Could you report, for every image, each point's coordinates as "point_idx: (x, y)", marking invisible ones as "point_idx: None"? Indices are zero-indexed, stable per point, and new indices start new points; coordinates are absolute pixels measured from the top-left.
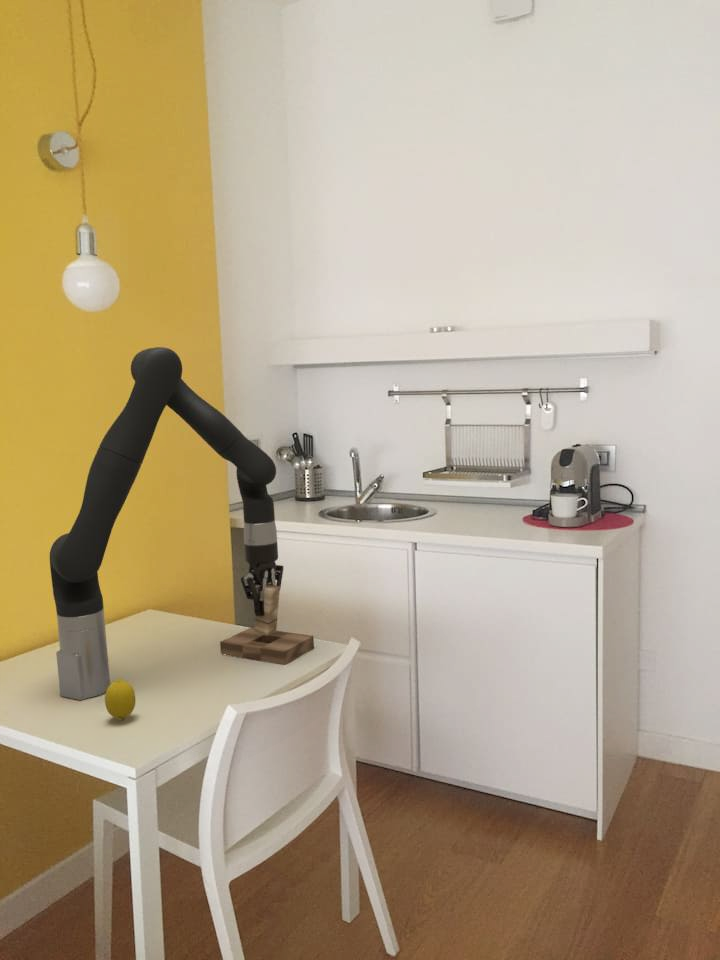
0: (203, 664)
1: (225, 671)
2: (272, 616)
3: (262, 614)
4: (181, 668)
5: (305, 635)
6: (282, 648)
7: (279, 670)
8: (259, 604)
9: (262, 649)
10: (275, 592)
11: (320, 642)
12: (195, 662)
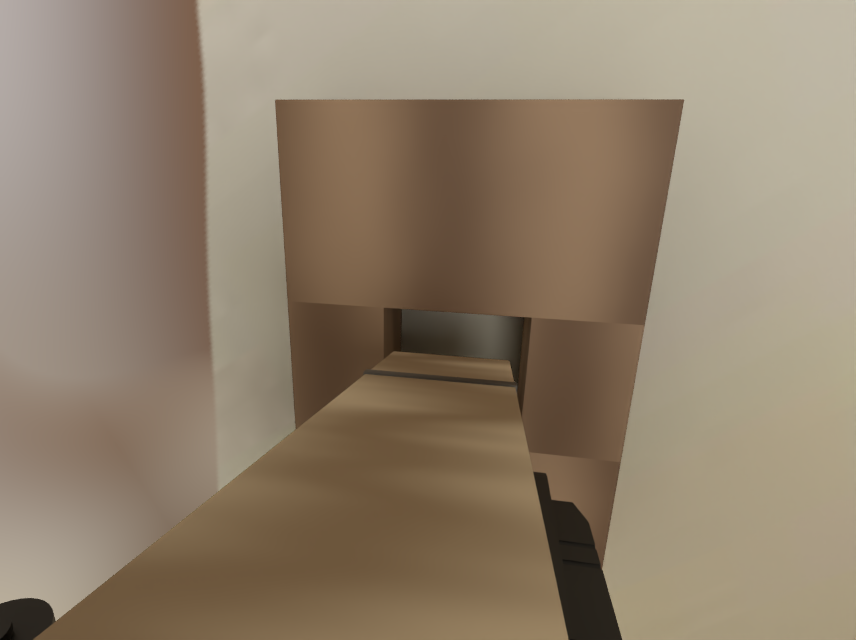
0: (743, 560)
1: (836, 405)
2: (445, 394)
3: (545, 484)
4: (825, 627)
5: (293, 162)
6: (609, 161)
7: (757, 91)
8: (598, 618)
9: (646, 304)
10: (320, 581)
11: (214, 140)
12: (722, 605)
